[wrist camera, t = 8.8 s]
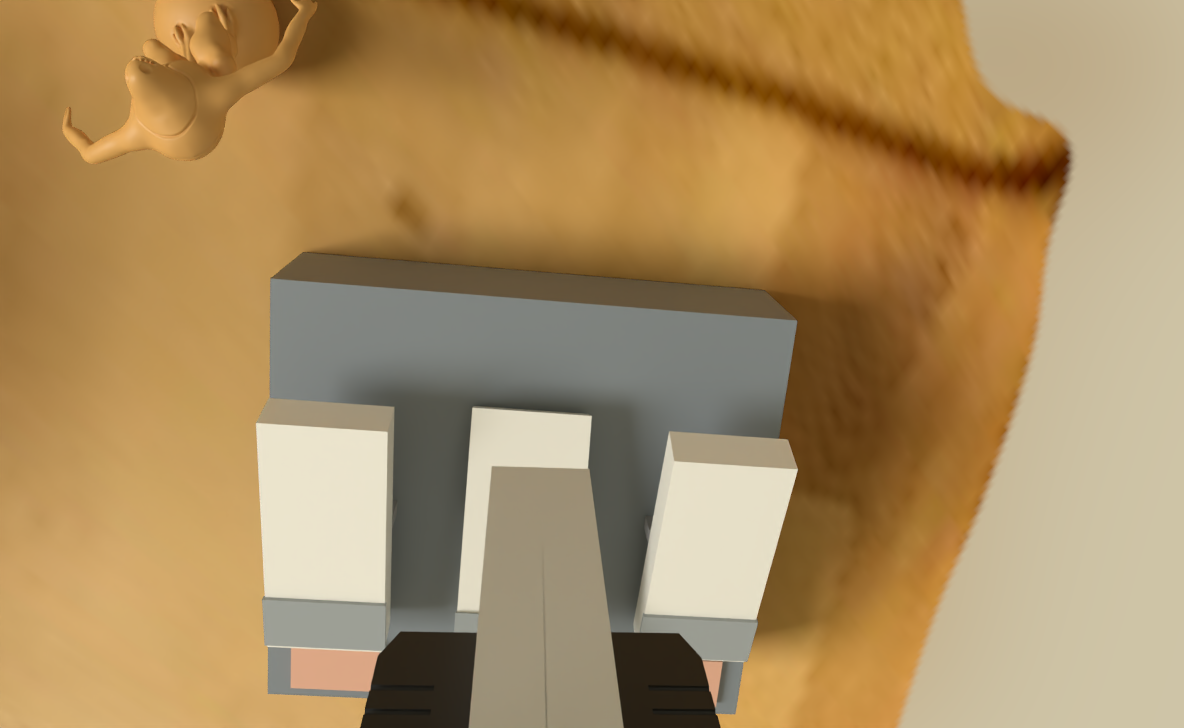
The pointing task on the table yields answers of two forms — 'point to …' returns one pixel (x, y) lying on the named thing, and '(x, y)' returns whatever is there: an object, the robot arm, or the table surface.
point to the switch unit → (517, 406)
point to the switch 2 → (512, 445)
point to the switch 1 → (326, 523)
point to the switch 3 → (714, 540)
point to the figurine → (196, 75)
